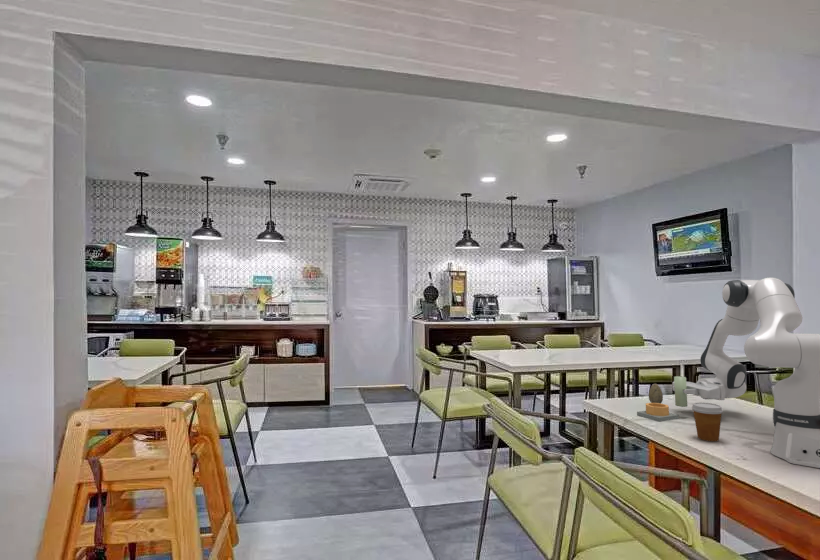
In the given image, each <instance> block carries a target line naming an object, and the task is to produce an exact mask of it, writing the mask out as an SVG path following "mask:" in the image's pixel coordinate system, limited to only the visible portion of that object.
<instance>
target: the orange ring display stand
mask: <svg viewBox="0 0 820 560" xmlns="http://www.w3.org/2000/svg"><path fill="white" fill-rule="evenodd" d="M636 415H637V416H639V417H642V418H645V419H648V420H652V421H657V422H665V421H671V420H678V419H679V414H676V413H671V412H670V408H669V404H665V403H663V402H662V403H651V402H647V403H645V410H640V411H636Z"/></svg>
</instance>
